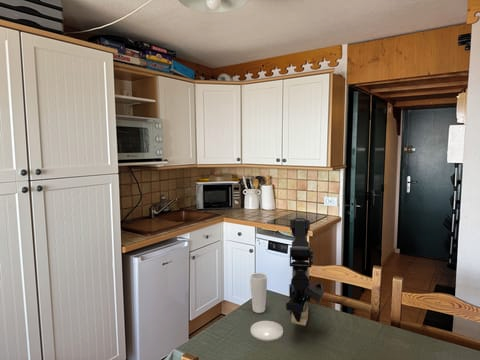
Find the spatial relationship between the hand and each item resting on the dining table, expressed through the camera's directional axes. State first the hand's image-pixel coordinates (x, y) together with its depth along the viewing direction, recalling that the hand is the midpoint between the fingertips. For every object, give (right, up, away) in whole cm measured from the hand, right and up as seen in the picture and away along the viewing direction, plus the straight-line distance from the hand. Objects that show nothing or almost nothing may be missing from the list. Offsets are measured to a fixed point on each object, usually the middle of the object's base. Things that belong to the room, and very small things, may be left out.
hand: (299, 318), depth 126 cm
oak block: (0, -1, 0) cm, 1 cm away
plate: (-12, -5, -1) cm, 13 cm away
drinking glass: (-14, -3, +15) cm, 21 cm away
